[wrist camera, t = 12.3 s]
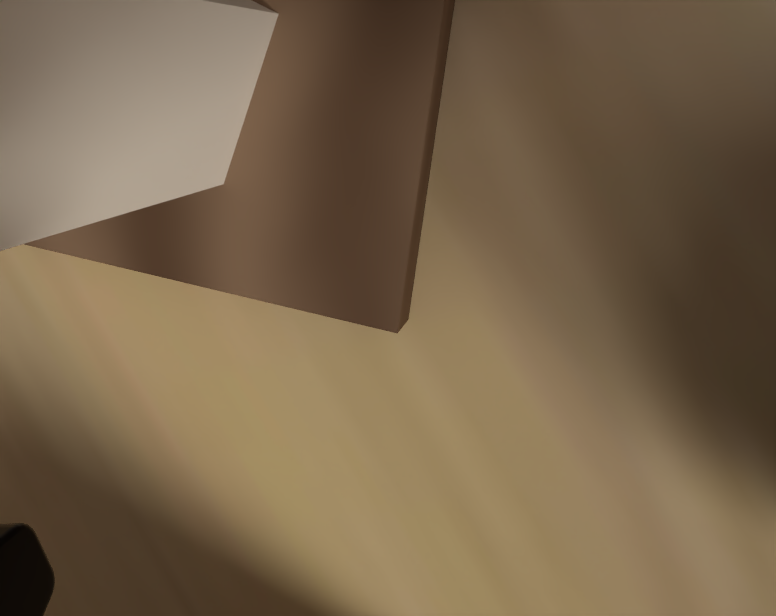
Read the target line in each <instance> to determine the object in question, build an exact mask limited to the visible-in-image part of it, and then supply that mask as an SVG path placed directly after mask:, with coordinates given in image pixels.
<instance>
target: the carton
mask: <svg viewBox="0 0 776 616" xmlns="http://www.w3.org/2000/svg"><path fill="white" fill-rule="evenodd" d="M277 18H278V13H276V12H274V11H272V10H270V9H268V8H266V7H264V6H262V5H260V4H258V3H256V2H254V1H252V0H0V251H1V250H5V249H8V248H11V247H15V246H18V245H21V244H25V243H28V242H31V241H35V240H38V239H42V238H45V237H48V236H52V235H55V234H58V233H62V232H65V231H68V230H72V229H75V228H78V227H82V226H85V225H88V224H92V223H95V222H99V221H102V220H105V219H109V218H112V217H115V216H119V215H122V214H125V213H129V212H132V211H135V210H139V209H142V208H145V207H149V206H152V205H155V204H159V203H162V202H166V201H169V200H172V199H176V198H179V197H182V196H186V195H189V194H192V193H196V192H199V191H202V190H206V189H209V188H212V187H216V186H219V185H222V184H224V181H225V178H226V175H227V172H228V169H229V166H230V163H231V160H232V157H233V153H234V150H235V147H236V144H237V141H238V138H239V135H240V132H241V129H242V126H243V123H244V119H245V116H246V113H247V110H248V107H249V104H250V101H251V98H252V95H253V92H254V89H255V85H256V82H257V79H258V76H259V73H260V70H261V67H262V64H263V61H264V58H265V55H266V51H267V48H268V45H269V42H270V39H271V36H272V33H273V30H274V27H275V24H276V21H277Z"/></svg>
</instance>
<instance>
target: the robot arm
mask: <svg viewBox="0 0 776 616" xmlns="http://www.w3.org/2000/svg"><path fill="white" fill-rule="evenodd" d="M54 580H55V578H54V572H53V569H52V567H51V565H50V563H49V561H48V559H47V556H46V554H45V552H44V550H43V548H42V546H41V544H40V541H39V539H38V537H37V535H36V533H35V531H34V530H33V529H32V528H31V527H30V526H29V525H27V524H23V523H15V524H0V616H43V615H44V612H45V610H46V607H47V605H48V603H49V600H50V598H51V595H52V593H53V589H54Z"/></svg>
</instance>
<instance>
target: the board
mask: <svg viewBox="0 0 776 616" xmlns="http://www.w3.org/2000/svg"><path fill="white" fill-rule="evenodd" d="M252 1H254V2H256V3H258V4H260V5H262V6H264V7H266V8H268V9H270V10H272V11H274V12H276V13H278V18H277V21H276V24H275V27H274V30H273V33H272V36H271V39H270V42H269V45H268V48H267V51H266V55H265V58H264V61H263V64H262V67H261V70H260V73H259V76H258V79H257V82H256V85H255V89H254V92H253V95H252V98H251V101H250V104H249V107H248V110H247V113H246V116H245V119H244V123H243V126H242V129H241V132H240V135H239V138H238V141H237V144H236V147H235V150H234V153H233V157H232V160H231V163H230V166H229V169H228V172H227V175H226V178H225V181H224V184H222V185H219V186H216V187H212V188H209V189H206V190H202V191H199V192H196V193H192V194H189V195H186V196H182V197H179V198H176V199H172V200H169V201H166V202H162V203H159V204H155V205H152V206H149V207H145V208H142V209H139V210H135V211H132V212H129V213H125V214H122V215H119V216H115V217H112V218H109V219H105V220H102V221H99V222H95V223H92V224H88V225H85V226H82V227H78V228H75V229H72V230H68V231H65V232H62V233H58V234H55V235H52V236H48V237H45V238H42V239H38V240H35V241H31V242H28V243H25V245H29V246H33V247H38V248H42V249H46V250H50V251H54V252H59V253H63V254H67V255H71V256H75V257H80V258H84V259H88V260H92V261H96V262H101V263H105V264H109V265H113V266H117V267H122V268H126V269H130V270H134V271H138V272H143V273H147V274H151V275H155V276H159V277H164V278H168V279H172V280H176V281H180V282H184V283H189V284H193V285H197V286H201V287H205V288H210V289H214V290H218V291H222V292H226V293H231V294H235V295H239V296H243V297H247V298H252V299H256V300H260V301H264V302H268V303H273V304H277V305H281V306H285V307H289V308H294V309H298V310H302V311H306V312H310V313H315V314H319V315H323V316H327V317H331V318H335V319H340V320H344V321H348V322H352V323H356V324H361V325H365V326H369V327H373V328H377V329H382V330H386V331H390V332H394V333H398V332H399V331H400V329H401V328H402V327H403V325H404V324H405V323H406V322H407V320H408V318H409V311H410V304H411V297H412V290H413V283H414V277H415V270H416V263H417V256H418V249H419V242H420V236H421V229H422V222H423V215H424V208H425V201H426V194H427V188H428V181H429V174H430V167H431V160H432V153H433V147H434V140H435V133H436V126H437V119H438V112H439V106H440V99H441V92H442V85H443V78H444V71H445V65H446V58H447V51H448V44H449V37H450V30H451V24H452V17H453V10H454V3H455V0H252Z"/></svg>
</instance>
